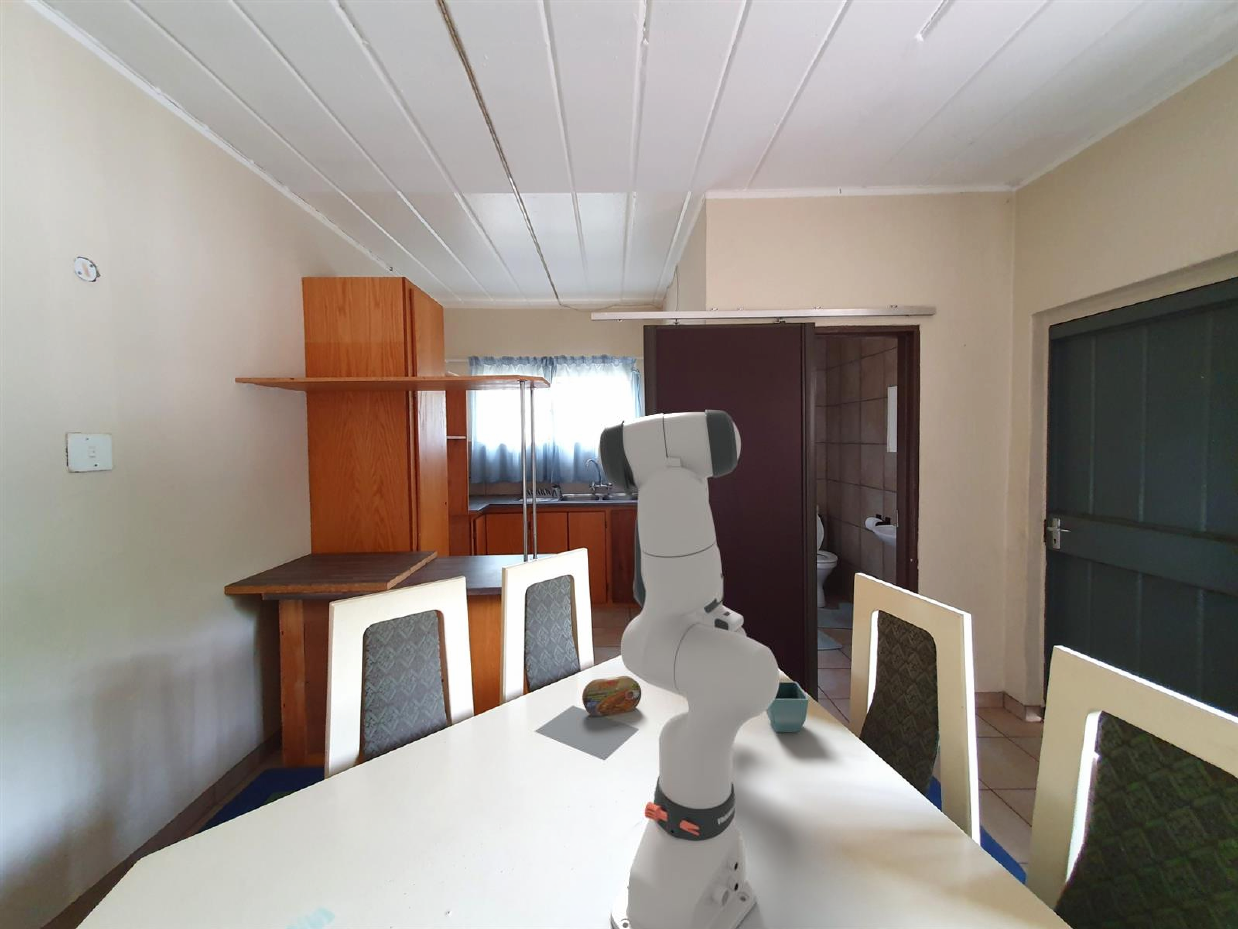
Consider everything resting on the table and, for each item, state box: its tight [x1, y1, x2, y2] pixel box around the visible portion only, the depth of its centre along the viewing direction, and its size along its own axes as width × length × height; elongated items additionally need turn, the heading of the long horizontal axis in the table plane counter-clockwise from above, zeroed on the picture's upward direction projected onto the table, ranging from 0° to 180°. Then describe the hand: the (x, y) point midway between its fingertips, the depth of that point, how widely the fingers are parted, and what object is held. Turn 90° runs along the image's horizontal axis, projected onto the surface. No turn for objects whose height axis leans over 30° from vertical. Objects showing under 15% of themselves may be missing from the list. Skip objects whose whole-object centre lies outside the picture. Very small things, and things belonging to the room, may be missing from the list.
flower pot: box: [765, 681, 810, 733], centre depth 118 cm, size 9×9×9 cm
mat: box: [534, 705, 640, 761], centre depth 117 cm, size 14×20×1 cm
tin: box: [581, 675, 642, 717], centre depth 125 cm, size 15×3×8 cm, turn 108°
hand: (702, 674), depth 113 cm, fingers closed on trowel, 3 cm apart
